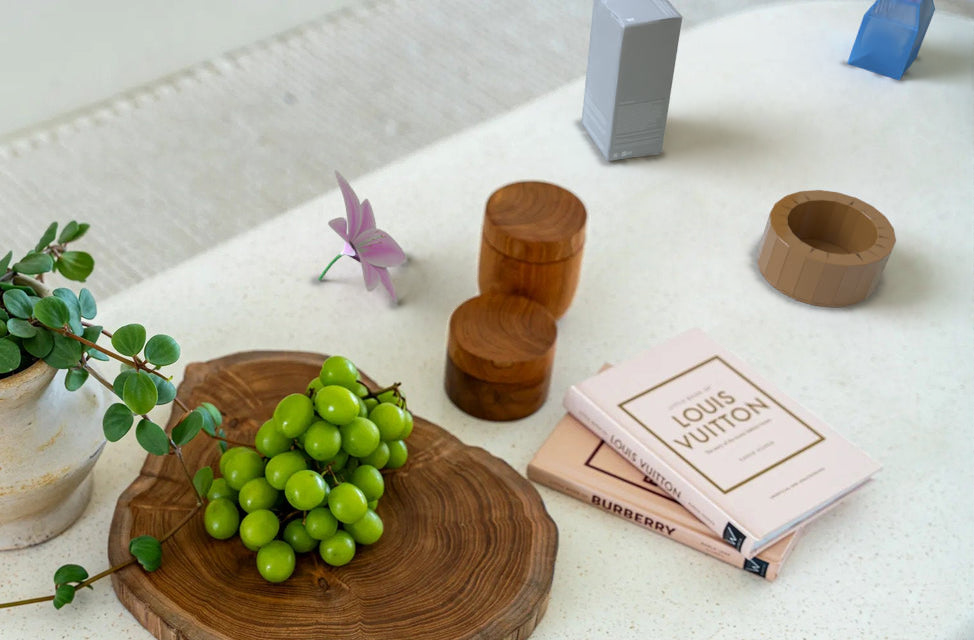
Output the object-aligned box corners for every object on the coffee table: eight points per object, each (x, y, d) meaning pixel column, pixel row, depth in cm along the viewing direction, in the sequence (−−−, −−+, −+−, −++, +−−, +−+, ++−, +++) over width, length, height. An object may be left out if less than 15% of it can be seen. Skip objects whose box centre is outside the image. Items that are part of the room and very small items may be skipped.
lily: (351, 351, 103) (407, 275, 97) (253, 266, 104) (303, 187, 98) (404, 306, 113) (457, 234, 107) (314, 229, 113) (362, 154, 108)
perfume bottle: (865, 42, 139) (899, -55, 130) (916, 58, 137) (954, -40, 128) (847, 63, 136) (880, -35, 127) (899, 80, 133) (937, -19, 124)
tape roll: (871, 239, 113) (888, 198, 109) (883, 314, 105) (902, 272, 102) (755, 224, 114) (768, 183, 111) (758, 297, 107) (772, 256, 103)
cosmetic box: (662, 156, 122) (693, 18, 111) (598, 164, 121) (623, 25, 110) (632, 113, 128) (660, -23, 116) (572, 120, 127) (593, -16, 115)
